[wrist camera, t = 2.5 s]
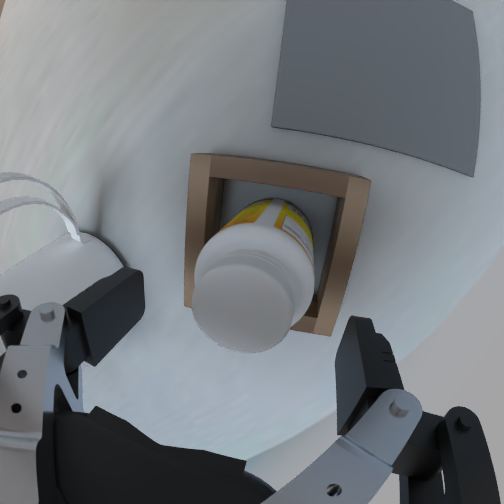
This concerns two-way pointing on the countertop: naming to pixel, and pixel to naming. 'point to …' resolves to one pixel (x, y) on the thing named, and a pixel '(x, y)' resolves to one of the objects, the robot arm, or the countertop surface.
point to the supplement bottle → (255, 277)
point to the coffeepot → (55, 259)
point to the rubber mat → (383, 76)
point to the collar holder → (291, 176)
